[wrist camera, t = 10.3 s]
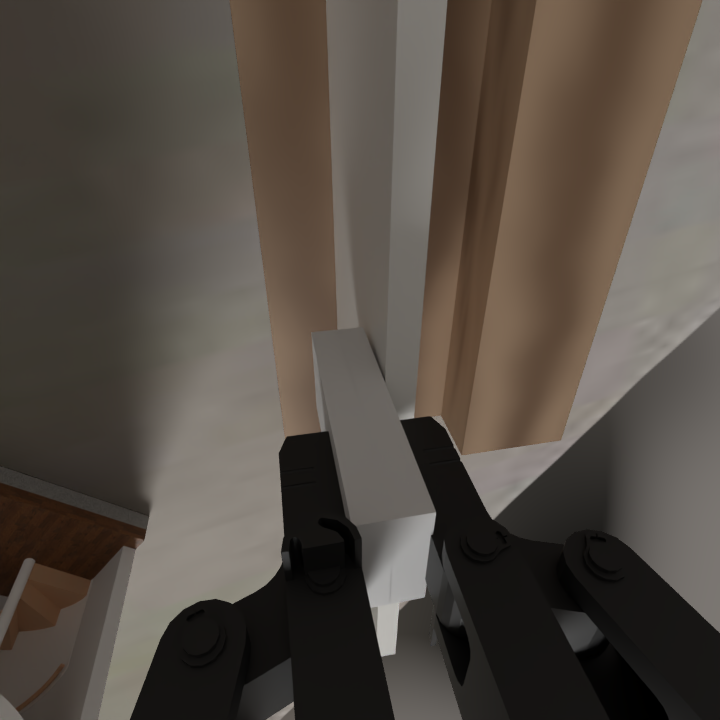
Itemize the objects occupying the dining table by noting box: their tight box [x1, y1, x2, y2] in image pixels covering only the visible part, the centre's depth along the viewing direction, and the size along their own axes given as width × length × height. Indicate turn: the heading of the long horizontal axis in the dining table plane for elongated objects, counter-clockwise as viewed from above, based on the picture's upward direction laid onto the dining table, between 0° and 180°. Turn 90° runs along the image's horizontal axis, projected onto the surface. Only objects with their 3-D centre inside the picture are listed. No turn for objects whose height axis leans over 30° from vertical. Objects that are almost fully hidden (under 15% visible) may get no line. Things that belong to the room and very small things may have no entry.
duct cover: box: [326, 0, 447, 656], centre depth 17 cm, size 11×26×1 cm
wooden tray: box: [230, 0, 702, 455], centre depth 24 cm, size 18×28×5 cm, turn 0°
